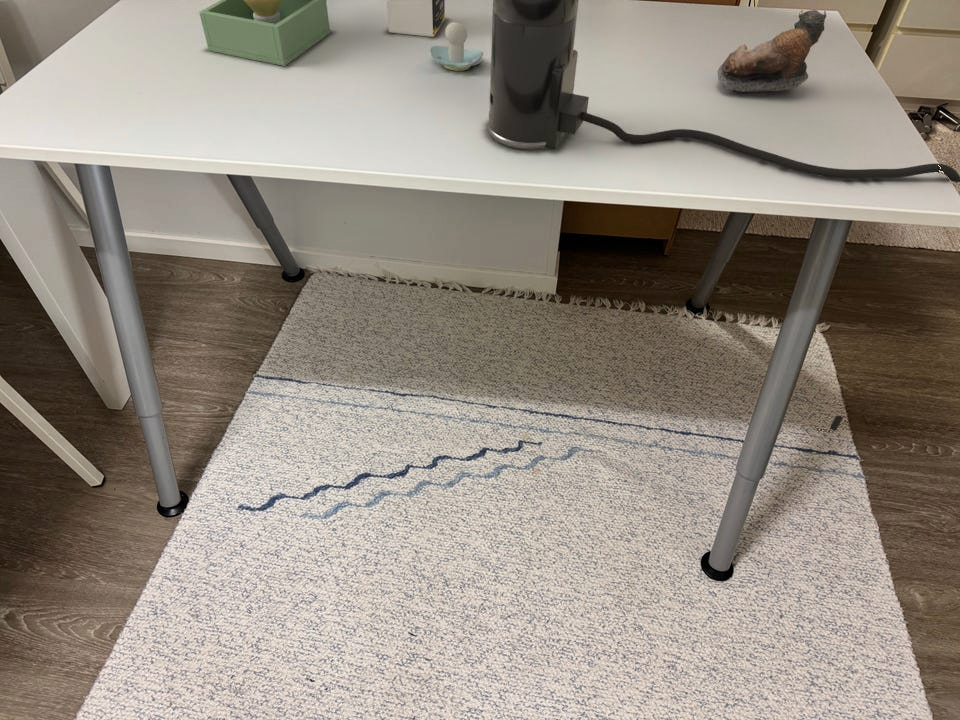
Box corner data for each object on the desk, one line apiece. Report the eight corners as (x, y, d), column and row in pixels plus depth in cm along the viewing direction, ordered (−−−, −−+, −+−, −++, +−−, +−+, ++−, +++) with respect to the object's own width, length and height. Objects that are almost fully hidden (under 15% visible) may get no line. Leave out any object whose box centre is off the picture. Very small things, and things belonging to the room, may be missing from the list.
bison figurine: (721, 100, 96) (743, 21, 89) (707, 76, 101) (726, 0, 94) (810, 100, 97) (838, 21, 89) (792, 76, 102) (817, 0, 94)
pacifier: (437, 54, 105) (427, 70, 100) (437, 8, 100) (426, 23, 96) (487, 59, 104) (479, 76, 99) (489, 13, 99) (480, 29, 95)
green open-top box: (330, 33, 109) (325, -5, 105) (284, 66, 101) (277, 27, 97) (258, 19, 112) (251, -18, 108) (208, 50, 104) (198, 11, 100)
